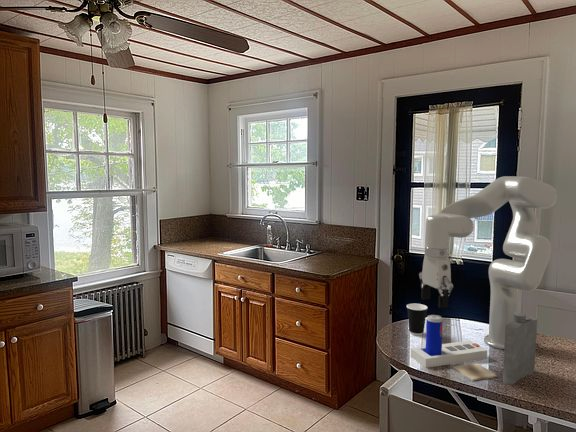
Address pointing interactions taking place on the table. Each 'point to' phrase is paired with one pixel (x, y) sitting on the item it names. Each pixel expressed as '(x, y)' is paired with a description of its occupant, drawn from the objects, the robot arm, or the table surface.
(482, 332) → the table surface
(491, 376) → the coaster pad
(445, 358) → the power strip
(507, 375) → the hip flask
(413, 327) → the dixie cup
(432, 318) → the beverage can
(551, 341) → the table surface
